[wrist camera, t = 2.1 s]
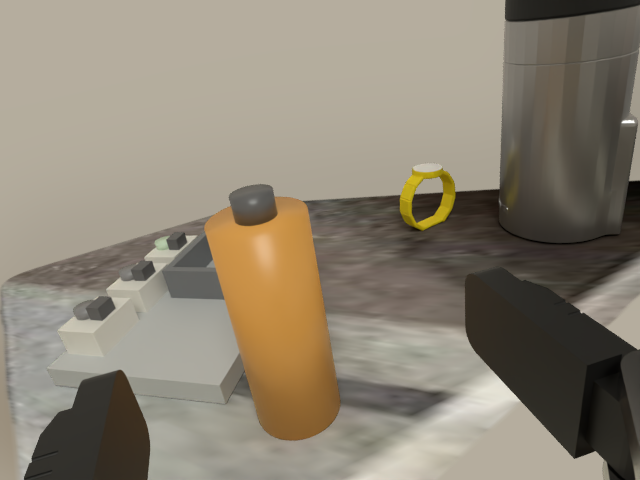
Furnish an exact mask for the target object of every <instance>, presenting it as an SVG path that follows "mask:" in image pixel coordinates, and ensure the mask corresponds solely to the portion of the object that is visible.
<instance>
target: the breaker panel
mask: <svg viewBox="0 0 640 480" xmlns="http://www.w3.org/2000/svg"><path fill="white" fill-rule="evenodd" d="M155 245H156V248H155V249H153V250H152V251H151V252H150V253H149V254H147V255H146V256H145V257H144V258H145V261H140V262H139V263H137V264H133V265H128V266H126V267H124V268H122V269H121V270H120V271H119V275H120V278H119V279H118V280H117V281H116V282H114V283H113V284H112V285H111V286H110V287H108V288H107V289H106V291H107V293H108V296H109V297H103V296H99V297H97V298H95V299H94V300H88V301H85V302H82V303H80V304H78V305H77V306H76V307H75V308H74V309H73V312H74V314H75V316H74V317H73V318H72V319H71V320H69V321H68V322H67V323H66V324H65V325H63V326H62V327H61V328H60V329H59V330H57V331H58V333H59V335H60V337H61V339H62V341H63V343H64V345H65V347H66V349H67V350H66V351H65V352H64V353H63V354H62V355H61V356H60V357H58V358H57V359H56V360H55V361H54V362H53V363H52V364H51V365H50V366H49V367H48V368H46V369H47V371H48V372H49V374H50V376H51V378H52V380H53V382H54V384H55V385H58V386H67V387H76V388H79V385H80V383H81V381H82V380H84V379H87V378H91V377H95V376H98V375H102V374H105V373H109V372H113V371H116V370H122V371H123V372H124V373H125V375H126V377H127V379H128V381H129V384H130V386H131V388H132V391H133V393H134V394H139V395H148V396H157V397H166V398H175V399H184V400H193V401H202V402H211V403H220V404H226V403H227V401H228V399H229V397H230V396H231V394H232V392H233V390H234V388H235V387H236V385H237V383H238V381H239V380H240V378H241V376H242V374H243V373H244V371H245V369H244V366H243V362H242V359H241V355H240V352H239V348H238V345H237V341H236V338H235V334H234V331H233V327H232V324H231V320H230V317H229V313H228V310H227V306H226V303H225V299H224V296H223V292H222V289H221V285H220V282H219V278H218V275H217V271H216V268H215V264H214V261H213V257H212V254H211V250H210V247H209V243H208V240H207V236H206V233H205V231H204V232H203V233H202V234H201V235H200V236H199V237H198V236H185V233H184V232H175V233H173V234H172V235H171V236H165V237H162V238H159V239H157V240H156V241H155Z"/></svg>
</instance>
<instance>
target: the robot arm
mask: <svg viewBox="0 0 640 480" xmlns="http://www.w3.org/2000/svg"><path fill="white" fill-rule="evenodd" d="M505 19H506V21H505V32H504V66H503V97H502V129H501V163H500V194H499V222H500V224H501V226H502V227H503V228H504V229H506V230H507V231H509V232H511V233H512V234H515V235H517V236H520V237H523V238H527V239H530V240H535V241H541V242H551V243H572V242H582V241H587V240H591V239H595V238H597V237H600V236H603V235H607V234H620V231H621V225H622V219H623V213H624V207H625V201H626V194H627V188H628V182H629V176H630V170H631V164H632V157H633V151H634V145H635V139H636V133H637V126H638V120H637V118H636V117H635V116H633V115H632V114H631V113H630V106H631V99H632V93H633V87H634V80H635V73H636V67H637V61H638V54H639V47H640V0H506V2H505ZM465 326H466V333H467V337H468V339H469V342H470V344H471V346H472V348H473V349H474V351H475V352H476V353H477V354H478V355H479V356H480V357H481V359H482V360H483V361H484V362H485V363H486V364H487V365H488V366H489V367H490V368H491V369H492V370H493V371H494V373H495V374H496V375H497V376H498V377H499V378H500V379H501V380H502V381H503V382H504V383H505V384H506V386H507V387H508V388H509V389H510V390H511V391H512V392H513V393H514V394H515V395H516V396H517V397H518V398H519V400H520V401H521V402H522V403H523V404H524V405H525V406H526V407H527V408H528V409H529V410H530V411H531V412H532V414H533V415H534V416H535V417H536V418H537V419H538V420H539V421H540V422H541V423H542V424H543V425H544V427H545V428H546V429H547V430H548V431H549V432H550V433H551V434H552V435H553V436H554V437H555V438H556V440H557V441H558V442H559V443H560V444H561V445H562V446H563V447H564V448H565V449H566V450H567V451H568V452H569V454H570V455H571V456H572V457H573V458H574V459H575V458H578V457H581V456H584V455H586V454H589V453H592V452H594V451H596V452H597V453H598V454H599V455H600V456H601V457H602V458H603V459H604V462H603V478H604V480H640V350H637V349H636V348H634V347H633V346H631V345H630V344H628V343H627V342H625V341H624V340H622V339H621V338H620V337H618V336H617V335H615V334H614V333H612V332H611V331H609V330H608V329H607V328H605V327H604V326H602V325H601V324H599V323H598V322H596V321H595V320H593V319H592V318H590V317H589V316H588V315H586V314H585V313H582V314H581V312H580V310H579V309H577V308H576V307H574V306H573V305H571V304H570V303H566V302H565V300H564V299H563V298H561V297H560V296H558V295H557V294H555V293H554V292H552V291H551V290H550V289H548V288H546V287H543V286H540V285H537V284H534V283H532V282H529V281H526V280H524V281H520V280H519V279H518V278H516V277H515V276H513V275H512V274H511V273H509V272H508V271H506V270H505V269H504V268H502V267H499V266H497V267H493V268H489V269H486V270H482V271H478V272H475V273H471V274H469V275H467V277H466V280H465ZM149 457H150V439H149V433H148V428H147V424H146V421H145V419H144V417H143V414H142V412H141V410H140V407H139V405H138V402H137V400H136V398H135V395H134V393H133V391H132V388H131V386H130V384H129V381H128V379H127V377H126V375H125V373H124V372H123V371H122V370H116V371H113V372H109V373H105V374H102V375H98V376H95V377H91V378H87V379H84V380H82V381H81V383H80V385H79V388H78V391H77V395H76V398H75V401H74V404H73V407H72V408H71V409H68V410H64V411H61V412H59V413H58V414H57V415H56V416H55V417H54V419H53V420H52V421H51V422H50V424H49V425H48V426H47V427H46V429H45V430H44V431H43V432H42V434H41V435H40V437H39V440H38V442H37V445H36V448H35V450H34V453H33V456H32V458H31V459H32V463H29V466H28V469H27V471H26V474H25V476H24V480H147V478H148V467H149Z"/></svg>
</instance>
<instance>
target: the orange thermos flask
mask: <svg viewBox="0 0 640 480" xmlns="http://www.w3.org/2000/svg"><path fill="white" fill-rule="evenodd" d="M229 200H230V204H231V206H230V207H227V208H225V209H223V210H221V211H220V212H218V213H216V214H215V215H213V216H212V217H211V218H210V219H209V220H208V221H207V222H206V224H205V228H204V229H205V233H206V236H207V240H208V243H209V247H210V250H211V254H212V257H213V261H214V264H215V268H216V271H217V275H218V278H219V282H220V285H221V289H222V292H223V296H224V299H225V303H226V306H227V310H228V313H229V317H230V320H231V324H232V327H233V331H234V334H235V338H236V341H237V345H238V348H239V352H240V355H241V359H242V362H243V366H244V369H245V373H246V376H247V380H248V383H249V387H250V390H251V394H252V397H253V401H254V404H255V408H256V411H257V415H258V418H259V422H260V424H261V426H262V427H263V429H264V430H265V431H266V432H267V433H269V434H270V435H272V436H274V437H276V438H279V439H283V440H302V439H306V438H309V437H312V436H314V435H316V434H318V433H320V432H322V431H323V430H325V429H326V428H327V427H328V426H329V425H330V424H331V423H332V422H333V421H334V419H335V418H336V416H337V414H338V412H339V408H340V396H339V390H338V384H337V378H336V372H335V366H334V360H333V355H332V349H331V343H330V337H329V331H328V325H327V319H326V314H325V308H324V302H323V296H322V290H321V284H320V278H319V273H318V267H317V261H316V255H315V249H314V243H313V237H312V232H311V226H310V220H309V214H308V208H307V205H306V204H305V203H304V202H302V201H300V200H298V199H294V198H290V197H274V193H273V188H272V187H271V186H269V185H263V184H260V185H251V186H247V187H243V188H240V189H237V190H235V191H233V192H232V193H231V194H230V195H229Z"/></svg>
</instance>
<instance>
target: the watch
mask: <svg viewBox="0 0 640 480" xmlns="http://www.w3.org/2000/svg"><path fill="white" fill-rule="evenodd" d="M436 177H440V178H441V180H442V182H443V192H444V194H443V197H442V201H441V206H440V207H439V208H438V210H437V212H436V213H435V215H434V216H432V217H429V218H427V219H425V220H423V221H420V222H418V223H416V221H415V219H414V217H413V215H412V199H413V196H414V193H415V191H416V188H417V187H418V185H419V184H420V183H421V182H422V181H423V179H431V178H436ZM400 197H401V198H400V211H401V215H402V217H403V219H404V221H405V222H406V223H407V224H409V225H411V226H412V227H414V228H417V229H419V230H422V231H423V230H425V229H427V228H429V227H432V226H434V225H436V224H439V223H441V222H444V221H445V220H446V218H447V216H448V215H449V213H450V212H451V209H452V207H453V204H454V200H455V184H454V181H453V179H452V177H451V176H450V174H449V173H448V172H446V171H444V170H443V168H442V165H440V164H435V163H425V164H419V165H416V166H414V167H413V168H412V176H411V177H410V178H409V179H408V180H407V182H406V184H405V185H404V188H403V191H402V194H401V196H400Z"/></svg>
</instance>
